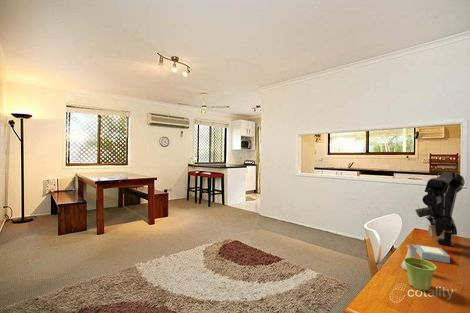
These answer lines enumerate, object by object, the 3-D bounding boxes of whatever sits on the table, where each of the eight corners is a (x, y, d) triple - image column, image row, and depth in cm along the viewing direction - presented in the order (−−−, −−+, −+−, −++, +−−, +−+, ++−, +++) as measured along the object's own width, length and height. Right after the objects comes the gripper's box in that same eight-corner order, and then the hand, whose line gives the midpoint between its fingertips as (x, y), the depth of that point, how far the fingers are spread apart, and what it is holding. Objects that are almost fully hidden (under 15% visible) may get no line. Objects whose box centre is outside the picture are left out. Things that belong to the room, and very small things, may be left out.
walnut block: (428, 234, 123) (428, 224, 122) (440, 235, 120) (440, 226, 120) (431, 237, 118) (431, 227, 118) (444, 239, 116) (444, 229, 116)
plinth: (415, 250, 117) (415, 244, 117) (440, 254, 113) (441, 247, 113) (421, 258, 108) (422, 252, 108) (449, 263, 104) (449, 256, 104)
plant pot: (438, 297, 79) (439, 272, 79) (404, 288, 84) (404, 264, 84) (433, 284, 87) (433, 261, 87) (402, 276, 92) (402, 255, 92)
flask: (415, 265, 102) (415, 243, 101) (427, 274, 94) (427, 250, 94) (397, 265, 102) (397, 242, 102) (408, 273, 95) (408, 249, 95)
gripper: (412, 199, 131) (411, 226, 131) (423, 206, 114) (422, 237, 114) (437, 201, 126) (436, 229, 126) (452, 208, 109) (451, 241, 109)
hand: (435, 234), depth 119 cm, fingers closed on walnut block, 5 cm apart
